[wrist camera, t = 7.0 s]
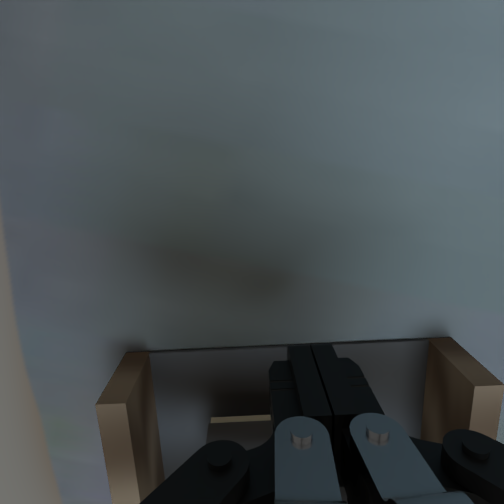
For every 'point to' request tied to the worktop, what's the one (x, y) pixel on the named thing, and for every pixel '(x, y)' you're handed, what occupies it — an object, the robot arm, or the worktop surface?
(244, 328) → the worktop surface
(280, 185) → the worktop surface
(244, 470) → the robot arm
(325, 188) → the worktop surface
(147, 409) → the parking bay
